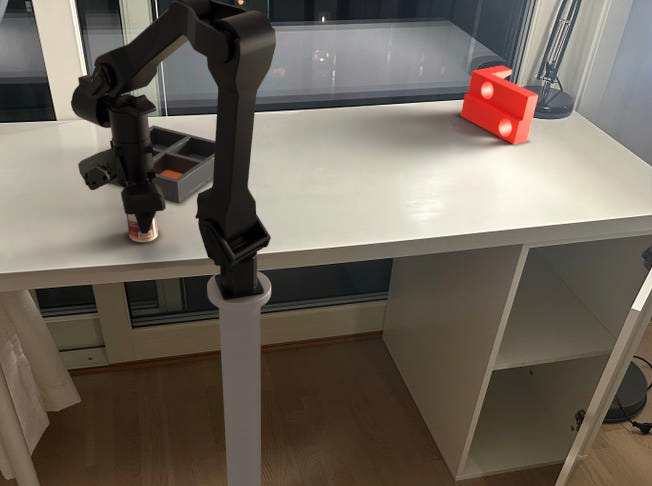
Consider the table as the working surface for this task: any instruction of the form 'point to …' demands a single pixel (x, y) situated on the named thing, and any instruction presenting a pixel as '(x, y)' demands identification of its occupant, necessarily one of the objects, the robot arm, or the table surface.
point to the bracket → (499, 104)
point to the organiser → (180, 162)
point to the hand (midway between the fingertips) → (142, 225)
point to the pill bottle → (136, 233)
